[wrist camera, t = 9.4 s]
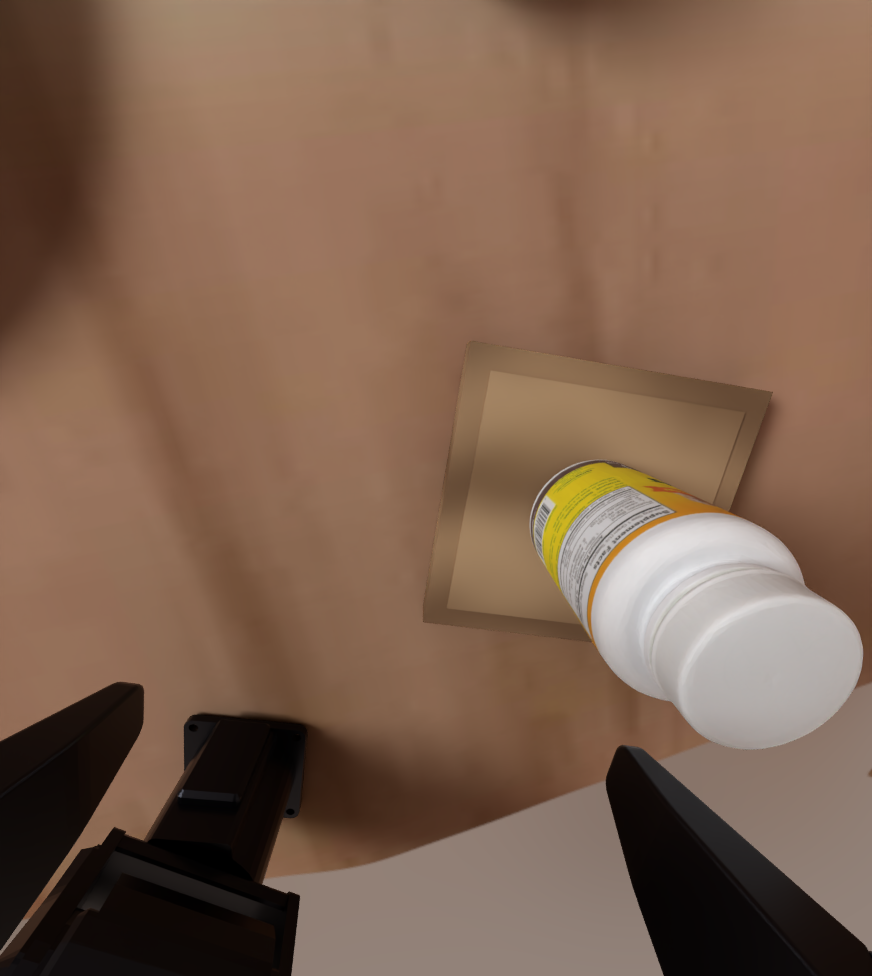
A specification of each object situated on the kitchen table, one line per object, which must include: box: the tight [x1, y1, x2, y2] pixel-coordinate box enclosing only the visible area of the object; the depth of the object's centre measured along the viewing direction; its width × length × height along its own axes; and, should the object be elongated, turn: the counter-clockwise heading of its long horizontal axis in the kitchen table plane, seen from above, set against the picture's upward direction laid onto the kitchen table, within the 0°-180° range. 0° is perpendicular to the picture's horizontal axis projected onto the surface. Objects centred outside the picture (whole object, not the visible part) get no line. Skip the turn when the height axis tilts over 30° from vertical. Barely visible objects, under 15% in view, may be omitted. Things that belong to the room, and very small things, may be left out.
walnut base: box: [423, 341, 773, 642], centre depth 19 cm, size 13×13×2 cm
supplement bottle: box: [530, 460, 863, 750], centre depth 14 cm, size 6×6×10 cm
